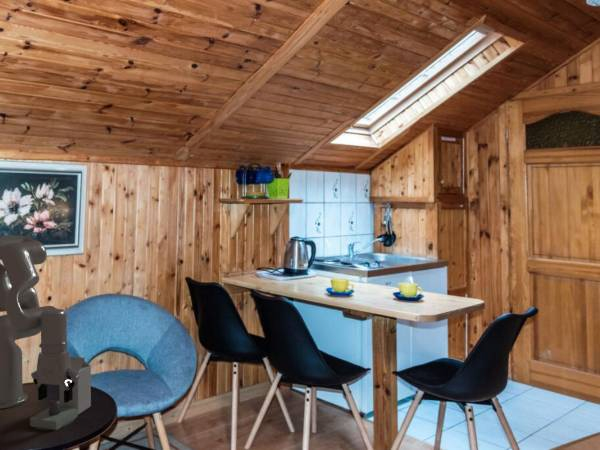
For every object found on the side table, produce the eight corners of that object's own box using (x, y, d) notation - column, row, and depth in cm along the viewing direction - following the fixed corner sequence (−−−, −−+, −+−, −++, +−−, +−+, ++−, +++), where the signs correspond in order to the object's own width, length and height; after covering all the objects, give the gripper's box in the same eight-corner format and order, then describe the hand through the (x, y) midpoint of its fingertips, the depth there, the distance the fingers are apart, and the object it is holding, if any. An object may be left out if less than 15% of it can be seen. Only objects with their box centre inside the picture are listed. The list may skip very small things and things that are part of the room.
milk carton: (77, 416, 164) (77, 360, 163) (59, 414, 165) (59, 359, 165) (90, 407, 171) (90, 354, 170) (73, 405, 172) (72, 353, 172)
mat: (24, 429, 154) (24, 427, 154) (51, 413, 166) (51, 411, 166) (57, 433, 151) (57, 431, 151) (82, 417, 163) (82, 415, 163)
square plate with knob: (30, 426, 155) (30, 405, 155) (52, 413, 164) (52, 394, 164) (56, 429, 153) (56, 409, 152) (77, 416, 162) (77, 397, 162)
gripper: (22, 349, 156) (24, 402, 156) (69, 352, 152) (70, 406, 152) (40, 343, 163) (41, 393, 163) (85, 346, 159) (86, 397, 160)
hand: (55, 399), depth 158 cm, fingers open, 9 cm apart
